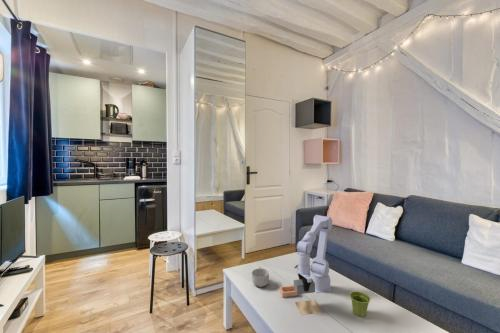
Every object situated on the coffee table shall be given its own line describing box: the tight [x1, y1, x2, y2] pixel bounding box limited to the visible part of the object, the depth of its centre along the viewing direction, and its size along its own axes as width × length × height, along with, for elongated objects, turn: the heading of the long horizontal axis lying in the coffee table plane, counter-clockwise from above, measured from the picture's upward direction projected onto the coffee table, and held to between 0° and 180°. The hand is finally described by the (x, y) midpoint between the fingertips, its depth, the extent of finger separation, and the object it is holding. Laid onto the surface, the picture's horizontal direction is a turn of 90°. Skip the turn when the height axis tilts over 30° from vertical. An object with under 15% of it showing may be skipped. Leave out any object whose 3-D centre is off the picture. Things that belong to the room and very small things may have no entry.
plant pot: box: [349, 290, 371, 318], centre depth 116 cm, size 9×9×9 cm
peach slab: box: [279, 284, 299, 299], centre depth 132 cm, size 9×6×3 cm, turn 98°
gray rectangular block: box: [293, 278, 316, 295], centre depth 122 cm, size 10×5×5 cm, turn 98°
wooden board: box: [294, 299, 324, 316], centre depth 120 cm, size 12×10×1 cm
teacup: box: [251, 266, 270, 288], centre depth 144 cm, size 14×11×8 cm
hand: (304, 287), depth 122 cm, fingers closed on gray rectangular block, 5 cm apart
